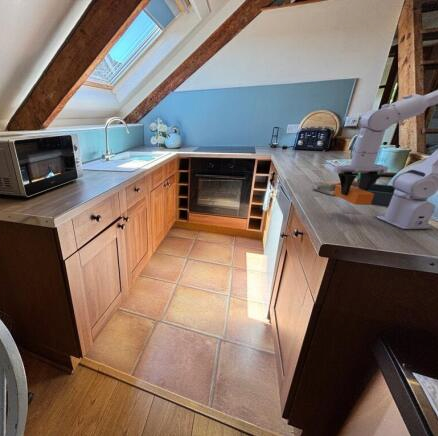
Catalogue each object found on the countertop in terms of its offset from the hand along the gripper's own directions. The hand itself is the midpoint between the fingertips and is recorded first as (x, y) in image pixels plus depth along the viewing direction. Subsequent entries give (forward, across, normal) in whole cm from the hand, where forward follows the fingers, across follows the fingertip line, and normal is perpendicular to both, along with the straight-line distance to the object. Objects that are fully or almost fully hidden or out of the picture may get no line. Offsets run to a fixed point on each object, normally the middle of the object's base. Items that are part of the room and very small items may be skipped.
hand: (352, 194), depth 80 cm
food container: (+9, -34, -43) cm, 56 cm away
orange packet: (+2, 0, 0) cm, 2 cm away
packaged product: (+9, -17, -33) cm, 39 cm away
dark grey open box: (+8, -25, -20) cm, 33 cm away
